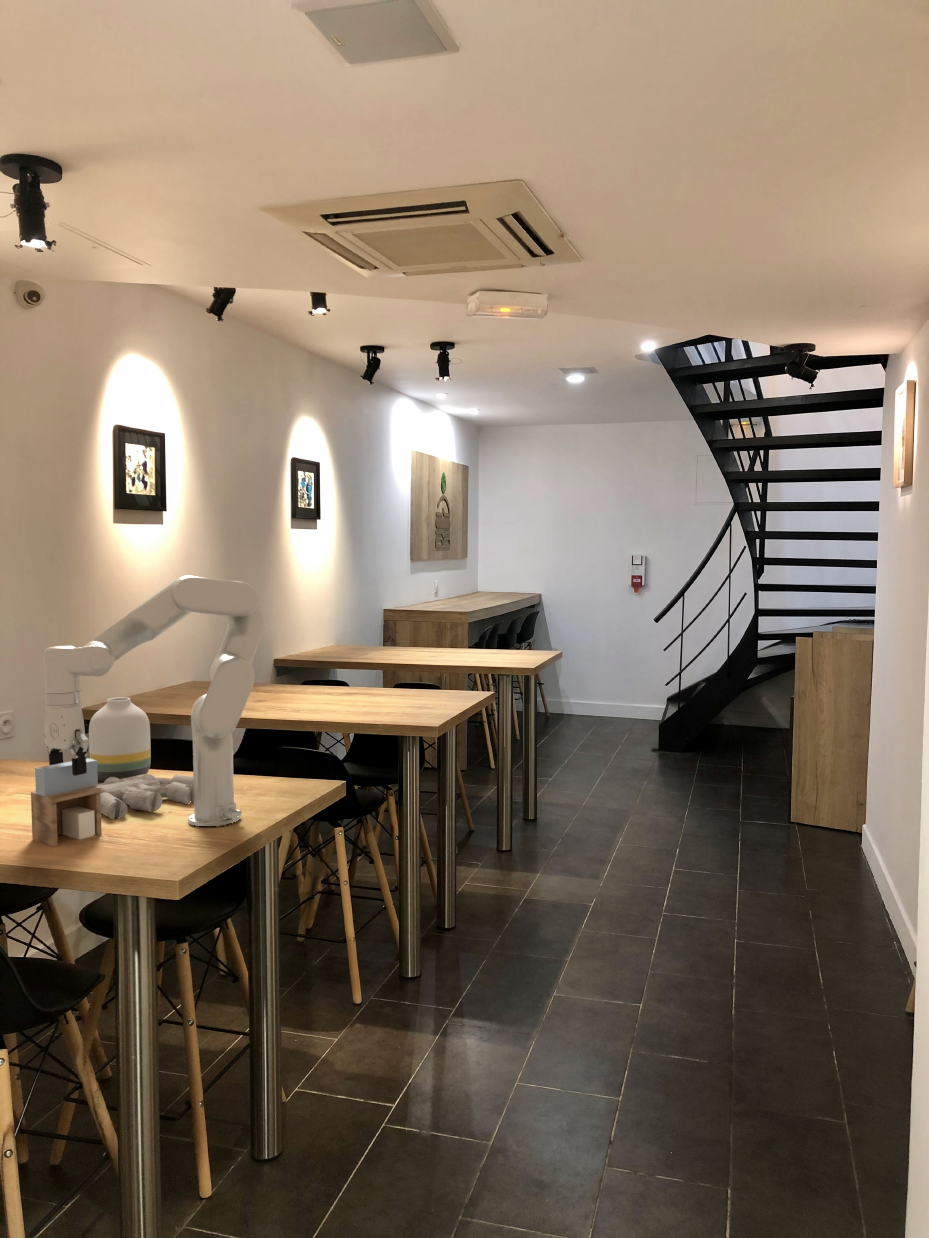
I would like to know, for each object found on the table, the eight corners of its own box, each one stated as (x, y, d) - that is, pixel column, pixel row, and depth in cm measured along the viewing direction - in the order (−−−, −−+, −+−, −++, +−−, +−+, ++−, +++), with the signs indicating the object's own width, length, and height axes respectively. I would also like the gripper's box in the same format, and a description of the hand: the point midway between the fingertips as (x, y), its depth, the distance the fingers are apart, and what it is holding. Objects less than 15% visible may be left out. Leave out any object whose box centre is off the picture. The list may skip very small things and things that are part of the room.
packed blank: (95, 835, 219) (94, 810, 219) (79, 839, 216) (78, 814, 215) (78, 830, 223) (77, 805, 223) (62, 834, 220) (62, 809, 220)
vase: (162, 778, 276) (160, 698, 274) (108, 789, 263) (105, 705, 261) (133, 770, 287) (131, 693, 285) (79, 780, 274) (77, 699, 273)
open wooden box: (101, 834, 220) (100, 787, 219) (53, 846, 210) (51, 797, 209) (80, 827, 225) (78, 782, 224) (32, 839, 216) (30, 792, 215)
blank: (44, 796, 211) (44, 770, 210) (35, 793, 213) (35, 767, 213) (97, 785, 221) (97, 760, 221) (88, 782, 224) (87, 758, 223)
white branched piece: (218, 798, 255) (147, 780, 271) (218, 773, 254) (146, 756, 271) (121, 830, 229) (49, 808, 245) (120, 802, 228) (48, 781, 244)
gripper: (28, 698, 218) (33, 770, 219) (69, 704, 208) (73, 779, 209) (58, 694, 224) (62, 764, 225) (99, 699, 214) (103, 773, 215)
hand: (68, 771), depth 217 cm, fingers open, 9 cm apart
